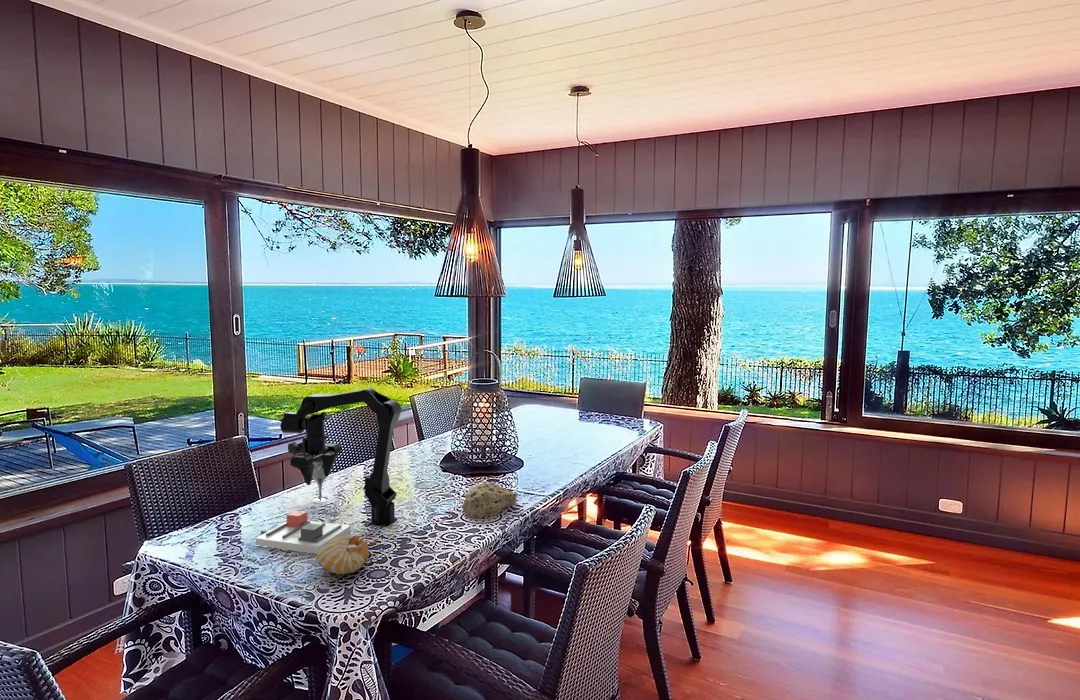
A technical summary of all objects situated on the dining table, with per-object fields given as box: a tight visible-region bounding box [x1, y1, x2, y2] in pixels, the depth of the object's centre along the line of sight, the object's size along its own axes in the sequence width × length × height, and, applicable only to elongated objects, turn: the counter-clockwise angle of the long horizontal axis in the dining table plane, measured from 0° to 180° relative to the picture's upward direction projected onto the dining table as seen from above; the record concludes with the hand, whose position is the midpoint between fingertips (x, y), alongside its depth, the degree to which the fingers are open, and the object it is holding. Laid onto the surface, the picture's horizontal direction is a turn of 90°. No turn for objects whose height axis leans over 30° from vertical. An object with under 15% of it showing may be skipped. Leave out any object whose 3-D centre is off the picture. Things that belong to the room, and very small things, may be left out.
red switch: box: [286, 509, 308, 527], centre depth 182 cm, size 4×4×4 cm
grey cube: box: [301, 523, 323, 542], centre depth 172 cm, size 4×4×4 cm
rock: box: [461, 482, 518, 519], centre depth 204 cm, size 21×14×10 cm
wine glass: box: [312, 456, 331, 501], centre depth 211 cm, size 8×8×15 cm
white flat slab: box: [255, 520, 352, 555], centre depth 178 cm, size 26×16×3 cm, turn 75°
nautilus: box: [315, 531, 381, 575], centre depth 161 cm, size 8×22×15 cm
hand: (317, 480), depth 193 cm, fingers open, 9 cm apart
